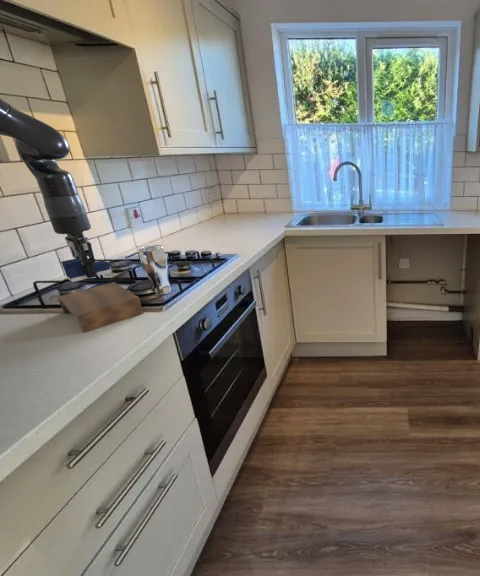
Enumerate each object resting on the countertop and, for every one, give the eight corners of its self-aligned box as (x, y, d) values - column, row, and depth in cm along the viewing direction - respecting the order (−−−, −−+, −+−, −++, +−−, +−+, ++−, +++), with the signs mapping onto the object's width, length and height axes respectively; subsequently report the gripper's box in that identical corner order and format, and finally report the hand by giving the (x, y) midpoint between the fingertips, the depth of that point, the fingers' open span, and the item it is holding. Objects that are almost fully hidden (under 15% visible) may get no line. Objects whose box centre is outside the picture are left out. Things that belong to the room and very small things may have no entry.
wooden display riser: (84, 332, 93) (77, 315, 91) (63, 312, 105) (57, 296, 103) (143, 313, 103) (138, 297, 101) (119, 296, 115) (114, 281, 113)
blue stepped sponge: (71, 282, 95) (65, 264, 93) (67, 279, 97) (60, 261, 96) (111, 272, 102) (105, 255, 100) (106, 269, 104) (101, 253, 102)
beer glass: (148, 292, 117) (135, 247, 112) (171, 286, 122) (160, 243, 116) (153, 298, 113) (139, 252, 107) (177, 292, 117) (165, 247, 111)
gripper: (42, 212, 94) (65, 273, 101) (55, 218, 86) (80, 285, 93) (77, 208, 100) (97, 266, 106) (93, 213, 91) (114, 276, 98)
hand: (89, 274), depth 99 cm, fingers closed on blue stepped sponge, 4 cm apart
